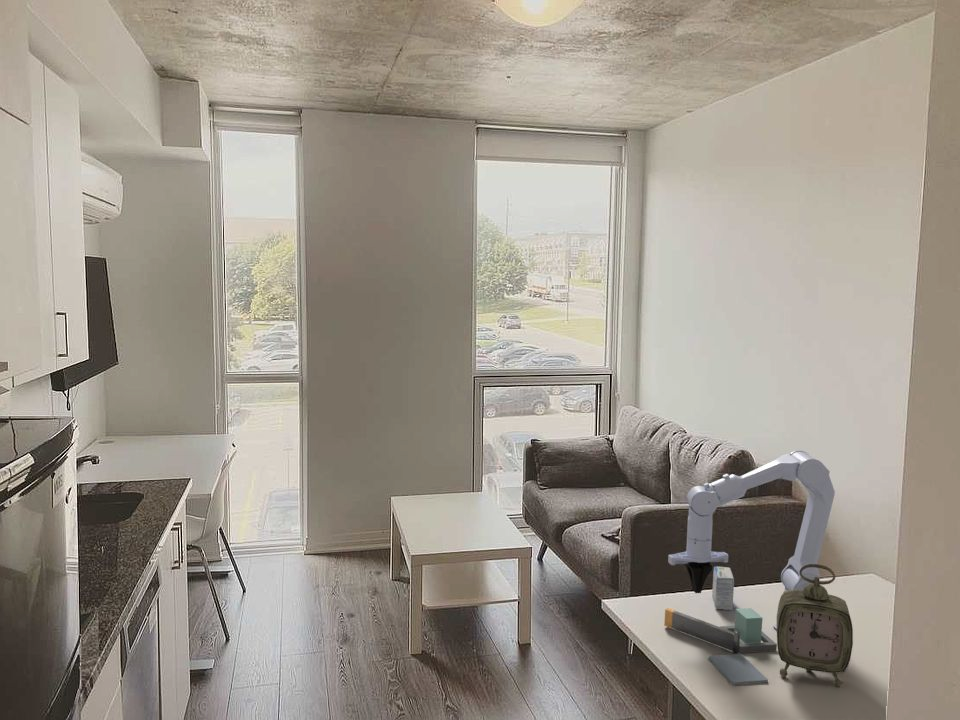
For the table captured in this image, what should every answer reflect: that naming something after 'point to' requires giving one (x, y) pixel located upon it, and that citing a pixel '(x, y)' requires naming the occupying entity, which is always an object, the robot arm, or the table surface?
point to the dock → (755, 647)
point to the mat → (737, 669)
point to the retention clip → (703, 630)
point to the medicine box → (723, 588)
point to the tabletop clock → (814, 629)
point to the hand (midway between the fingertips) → (696, 591)
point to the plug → (748, 625)
